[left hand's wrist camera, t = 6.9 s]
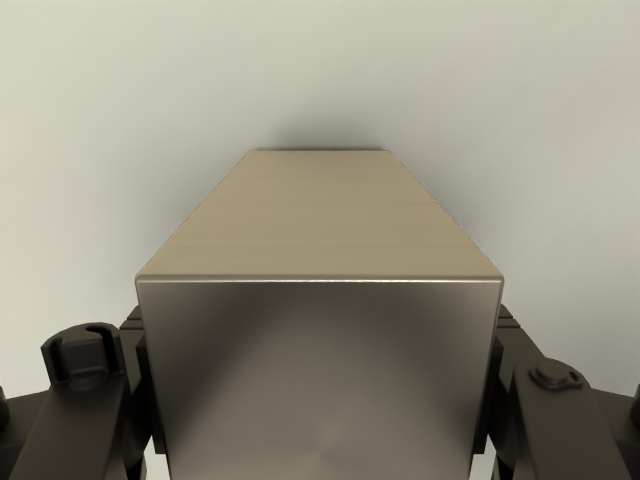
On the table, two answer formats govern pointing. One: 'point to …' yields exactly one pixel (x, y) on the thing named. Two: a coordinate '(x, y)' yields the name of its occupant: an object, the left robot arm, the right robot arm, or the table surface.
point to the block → (319, 326)
